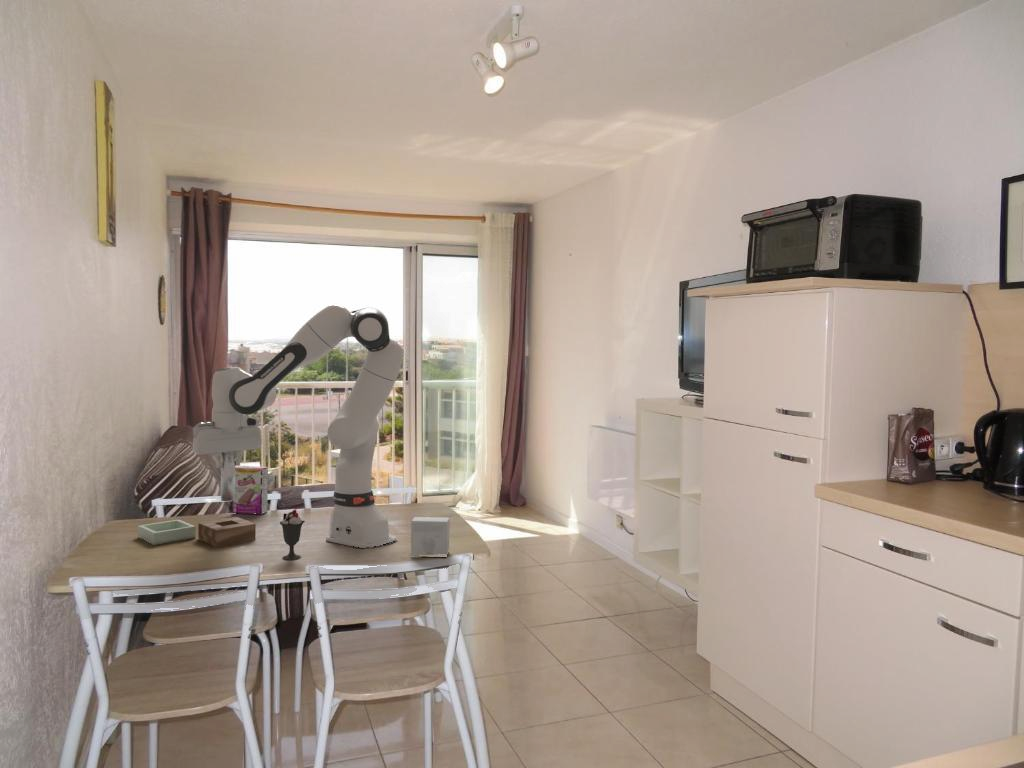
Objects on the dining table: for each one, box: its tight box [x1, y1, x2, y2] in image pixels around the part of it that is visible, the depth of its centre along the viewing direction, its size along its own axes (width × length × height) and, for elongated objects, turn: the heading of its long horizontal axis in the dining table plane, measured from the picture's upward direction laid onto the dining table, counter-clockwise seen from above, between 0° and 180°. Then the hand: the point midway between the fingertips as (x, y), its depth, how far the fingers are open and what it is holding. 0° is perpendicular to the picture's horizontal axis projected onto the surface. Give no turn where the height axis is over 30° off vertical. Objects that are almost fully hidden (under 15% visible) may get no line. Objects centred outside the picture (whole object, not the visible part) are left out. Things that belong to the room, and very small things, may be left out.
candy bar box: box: [231, 465, 269, 515], centre depth 248 cm, size 11×5×16 cm, turn 84°
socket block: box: [197, 516, 257, 548], centre depth 213 cm, size 12×12×5 cm
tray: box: [137, 519, 197, 546], centre depth 214 cm, size 12×12×4 cm
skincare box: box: [410, 516, 451, 557], centre depth 203 cm, size 10×6×10 cm, turn 89°
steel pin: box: [220, 451, 236, 502], centre depth 213 cm, size 4×4×15 cm
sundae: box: [279, 504, 305, 561], centre depth 196 cm, size 7×7×15 cm
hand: (228, 466), depth 213 cm, fingers closed on steel pin, 4 cm apart
